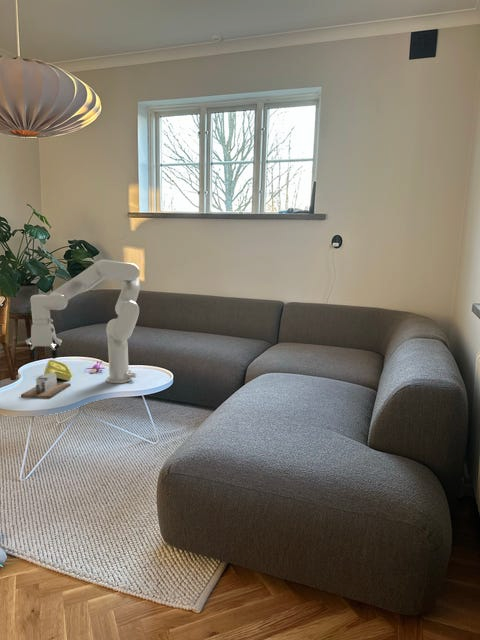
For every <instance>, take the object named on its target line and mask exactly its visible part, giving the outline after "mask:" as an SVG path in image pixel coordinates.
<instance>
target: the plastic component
mask: <svg viewBox="0 0 480 640" xmlns="http://www.w3.org/2000/svg"><path fill="white" fill-rule="evenodd" d="M47 373H56V378H57V379H58V380H59V379H60V380H63V381H67V382H69V381H71V378H72V376H73V373H72V371H71V370H70V368H69V366H68V365H66V363H64V362H61V361H58V360H54V359H48V362H47V364H46V366H45V369H44V374H43V376H44V375H46V374H47Z"/></svg>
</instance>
